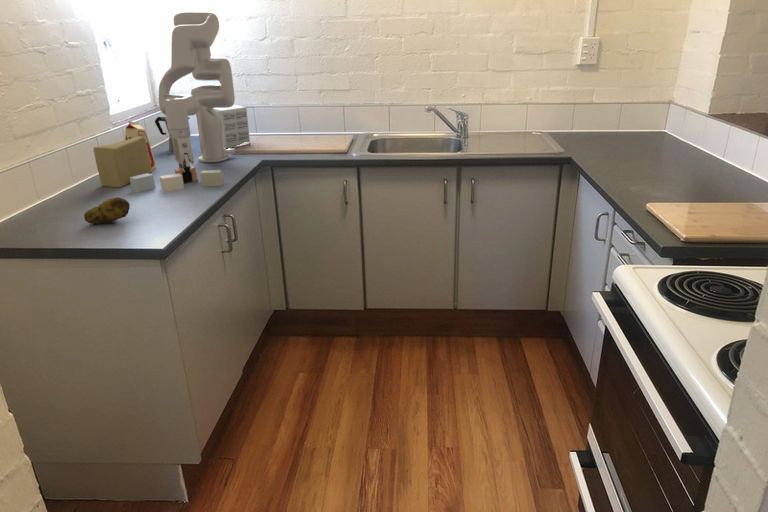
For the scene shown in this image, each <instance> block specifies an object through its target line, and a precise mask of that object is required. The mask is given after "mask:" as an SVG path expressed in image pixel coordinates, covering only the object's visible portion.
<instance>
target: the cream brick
mask: <svg viewBox="0 0 768 512" xmlns="http://www.w3.org/2000/svg"><path fill="white" fill-rule="evenodd" d="M159 181H160V187H161V190H162V191H163V193H166V192H173V191H179V190H184V189H185V187H184V183H183V179H182V175H181V174H175V173H174V174H165V175H159Z"/></svg>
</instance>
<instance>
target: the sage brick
mask: <svg viewBox="0 0 768 512" xmlns="http://www.w3.org/2000/svg"><path fill="white" fill-rule="evenodd" d="M199 174H200V175H199V176H200V182H201V187H216V186H217V187H220V186H222V185H223V183H224V179H223V171H222V169H213V170H212V169H211V170H210V169H209V170H201V171H200V173H199Z"/></svg>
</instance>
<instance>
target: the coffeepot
mask: <svg viewBox="0 0 768 512" xmlns="http://www.w3.org/2000/svg"><path fill="white" fill-rule="evenodd" d="M190 119H191V117H189V116H188V121H189V120H190ZM160 122H164V123H165V126H166V130H167V132H168V133H169V131H168V125H167V119H166V116H157V117H156V118H155V120H154V123H155V125H156V127H157V129H158V131H159V133H160V134H161V135H162V136H166V135H167V132H164V129H163V128H162V126H161V123H160ZM168 150H169V152H172V153H174V148H173V140H172V138H168Z"/></svg>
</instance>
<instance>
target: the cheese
mask: <svg viewBox="0 0 768 512" xmlns="http://www.w3.org/2000/svg"><path fill="white" fill-rule="evenodd" d="M93 153H94V158H95V164H96V168H97V172H98V173H97V174H98V176H99V180H100V184H101V186H102V187H107V188H108V187H110V188H123V187H124V186H126V185H128V184H131V182H130V177H133V176H138V175H142V174H146V173H148V174H152V173H153V172H152V171H153V169H151V162H150V157H149V152H148V149H147V145H146V141H145V138H144V137H140V136H138V137H134V138H131V139H128V140H125V139H124V140H122V141H118V142H116V143H115V142H114V143H111V144H104V145H99V146H94V147H93Z"/></svg>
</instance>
